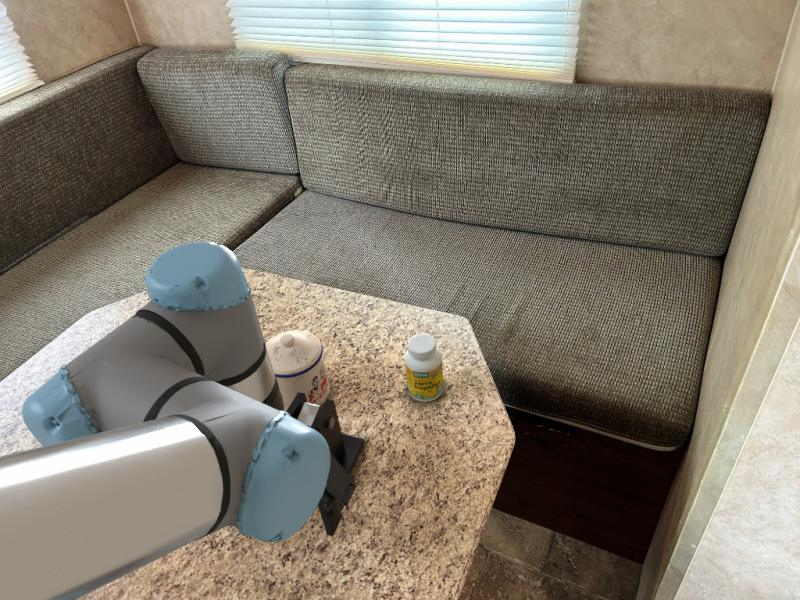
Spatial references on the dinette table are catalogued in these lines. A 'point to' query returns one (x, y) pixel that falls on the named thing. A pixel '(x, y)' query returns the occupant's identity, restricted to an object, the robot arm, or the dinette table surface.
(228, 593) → the dinette table surface
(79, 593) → the robot arm
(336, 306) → the dinette table surface
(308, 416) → the lever with black knob
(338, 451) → the black lever base
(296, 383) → the teacup with lid
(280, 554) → the dinette table surface
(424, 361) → the supplement bottle
